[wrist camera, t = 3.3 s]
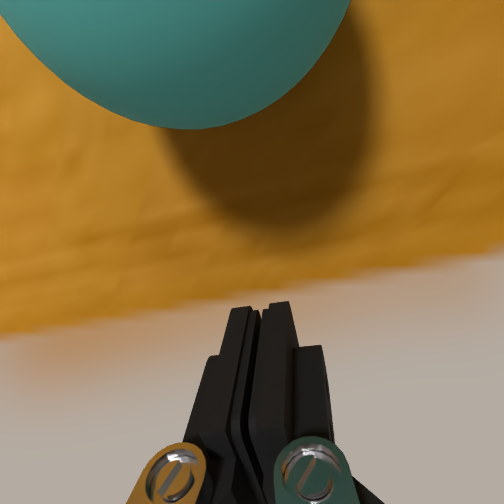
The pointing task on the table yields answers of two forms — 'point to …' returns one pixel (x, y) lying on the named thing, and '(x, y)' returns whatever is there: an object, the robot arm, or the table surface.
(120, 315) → the table surface
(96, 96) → the ball
